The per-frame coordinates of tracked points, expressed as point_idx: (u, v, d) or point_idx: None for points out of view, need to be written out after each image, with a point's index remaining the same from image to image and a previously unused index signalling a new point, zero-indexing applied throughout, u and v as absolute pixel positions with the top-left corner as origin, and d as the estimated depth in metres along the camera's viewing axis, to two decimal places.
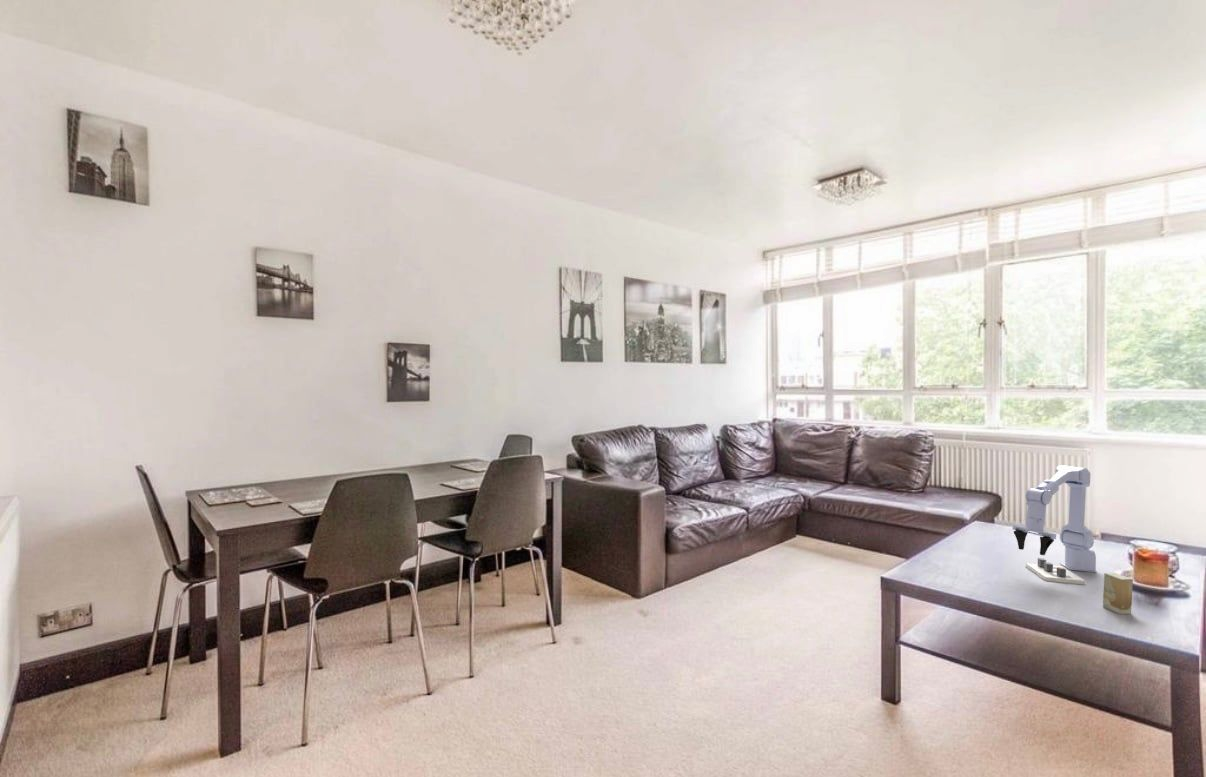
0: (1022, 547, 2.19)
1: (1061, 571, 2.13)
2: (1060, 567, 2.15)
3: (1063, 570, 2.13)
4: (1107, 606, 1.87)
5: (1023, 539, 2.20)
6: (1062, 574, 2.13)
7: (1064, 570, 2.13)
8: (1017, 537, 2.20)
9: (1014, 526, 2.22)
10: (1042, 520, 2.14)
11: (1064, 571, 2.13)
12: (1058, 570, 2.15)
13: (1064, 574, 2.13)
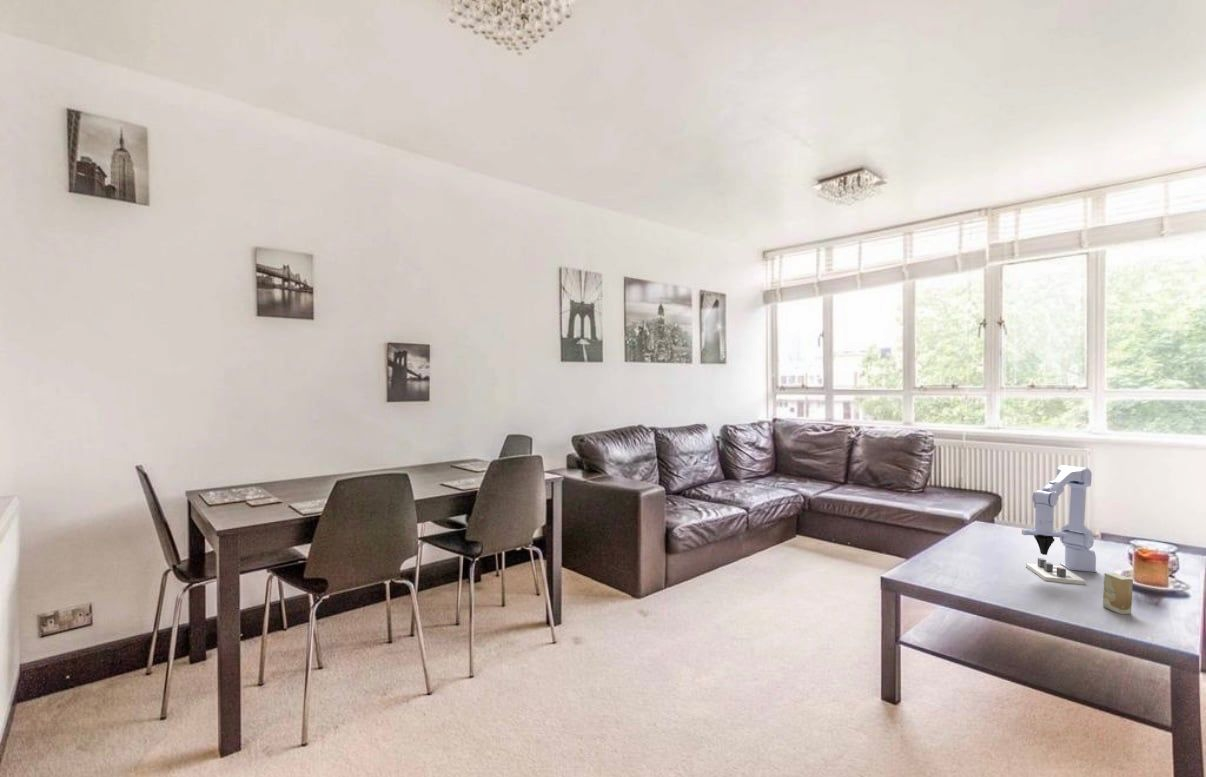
0: None
1: (1061, 571, 2.13)
2: (1060, 567, 2.15)
3: (1063, 570, 2.13)
4: (1107, 606, 1.87)
5: None
6: (1062, 574, 2.13)
7: (1064, 570, 2.13)
8: (1043, 543, 2.14)
9: (1025, 531, 2.17)
10: None
11: (1064, 571, 2.13)
12: (1058, 570, 2.15)
13: (1064, 574, 2.13)
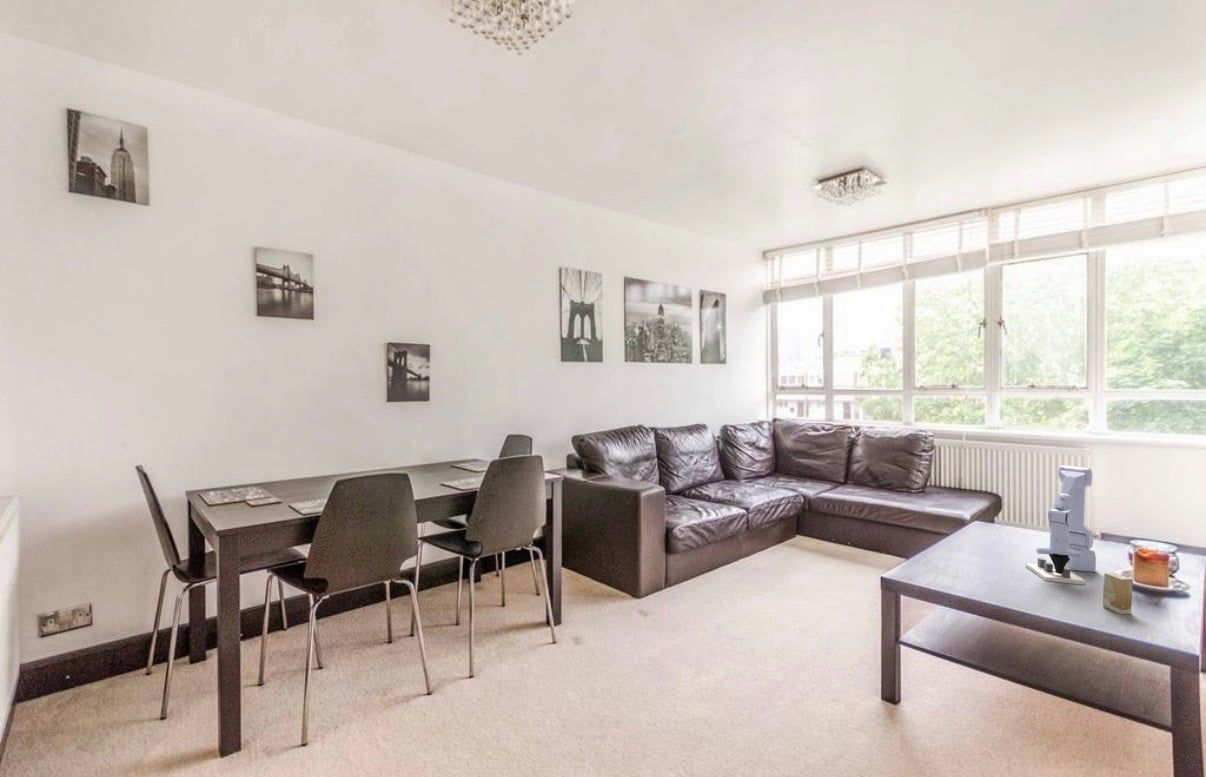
0: None
1: (1065, 571, 2.13)
2: (1064, 567, 2.14)
3: (1067, 570, 2.13)
4: (1107, 606, 1.87)
5: None
6: (1066, 575, 2.13)
7: (1068, 570, 2.13)
8: (1058, 562, 2.13)
9: (1040, 550, 2.15)
10: None
11: (1068, 571, 2.13)
12: None
13: (1068, 574, 2.13)
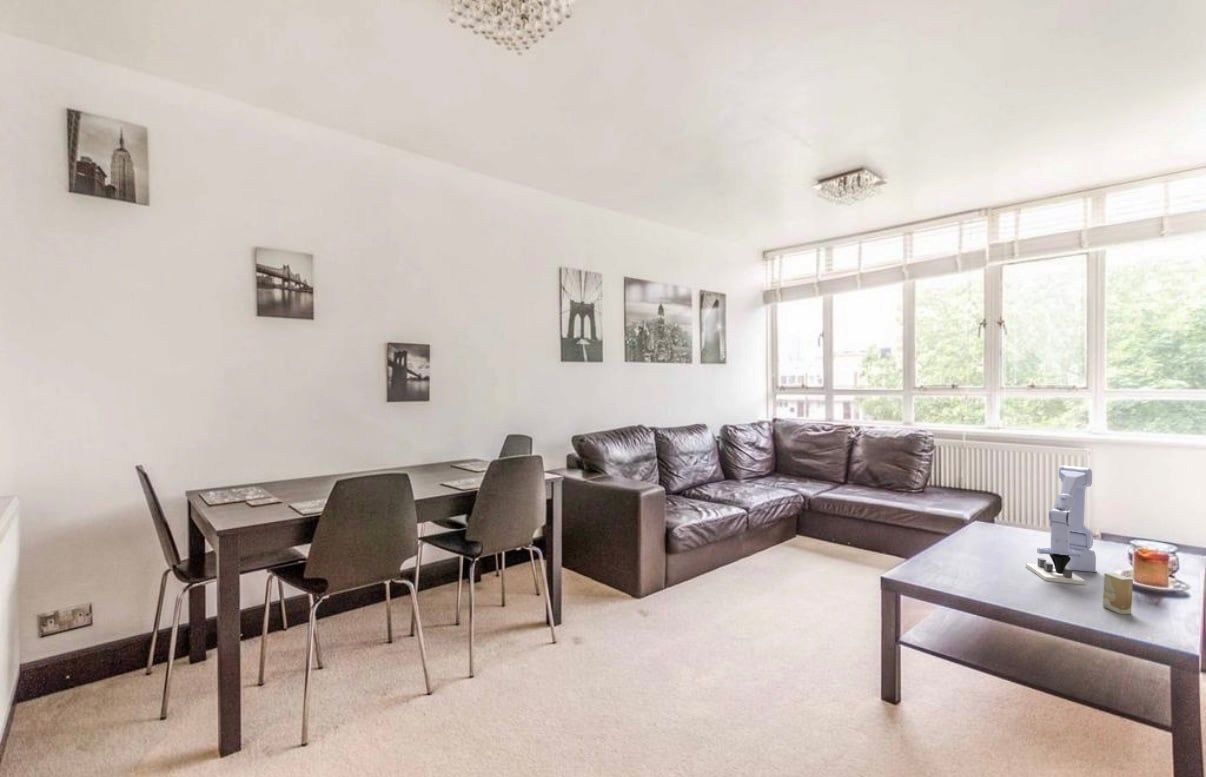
0: None
1: (1067, 572, 2.13)
2: (1066, 568, 2.14)
3: (1069, 571, 2.12)
4: (1107, 606, 1.87)
5: None
6: (1068, 575, 2.13)
7: (1070, 571, 2.12)
8: (1058, 562, 2.13)
9: (1041, 550, 2.15)
10: None
11: (1070, 572, 2.12)
12: (1064, 571, 2.14)
13: (1070, 575, 2.12)
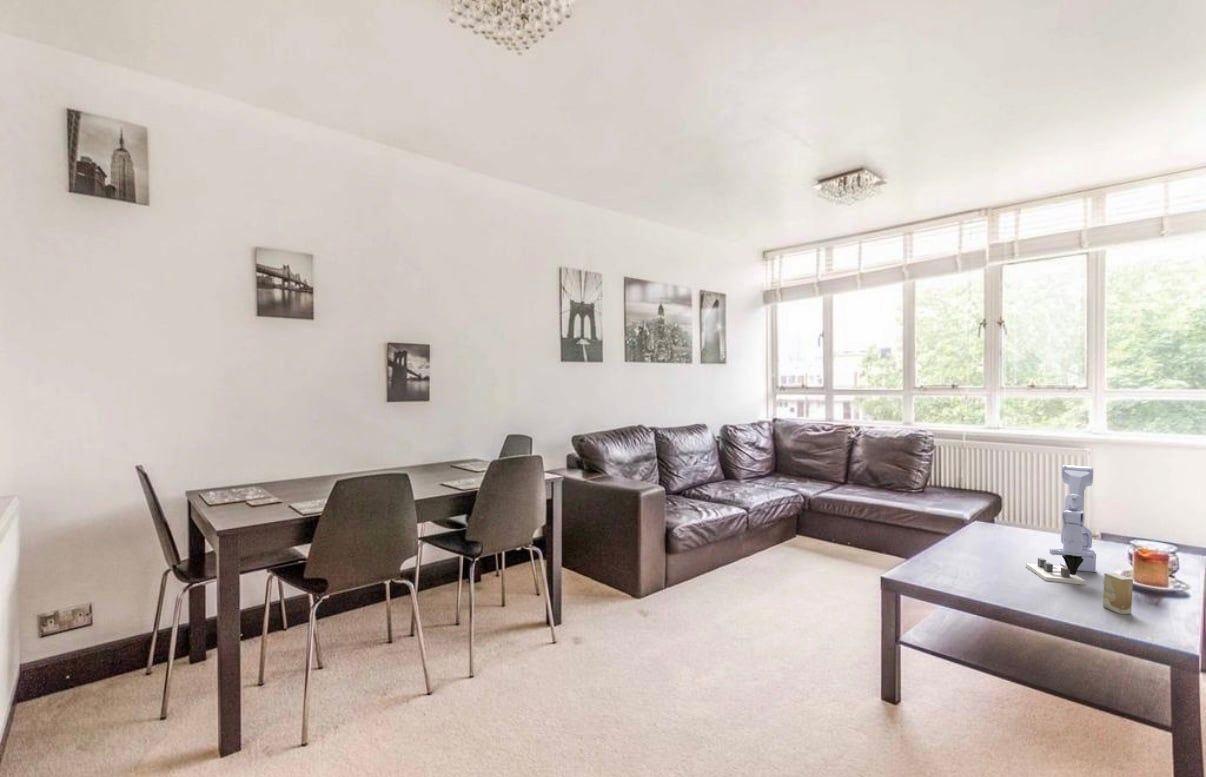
0: None
1: (1065, 571, 2.13)
2: (1064, 567, 2.14)
3: (1067, 570, 2.13)
4: (1107, 606, 1.87)
5: None
6: (1066, 575, 2.13)
7: (1068, 570, 2.13)
8: (1071, 564, 2.12)
9: (1053, 551, 2.14)
10: None
11: (1068, 571, 2.13)
12: (1062, 570, 2.14)
13: (1068, 574, 2.13)
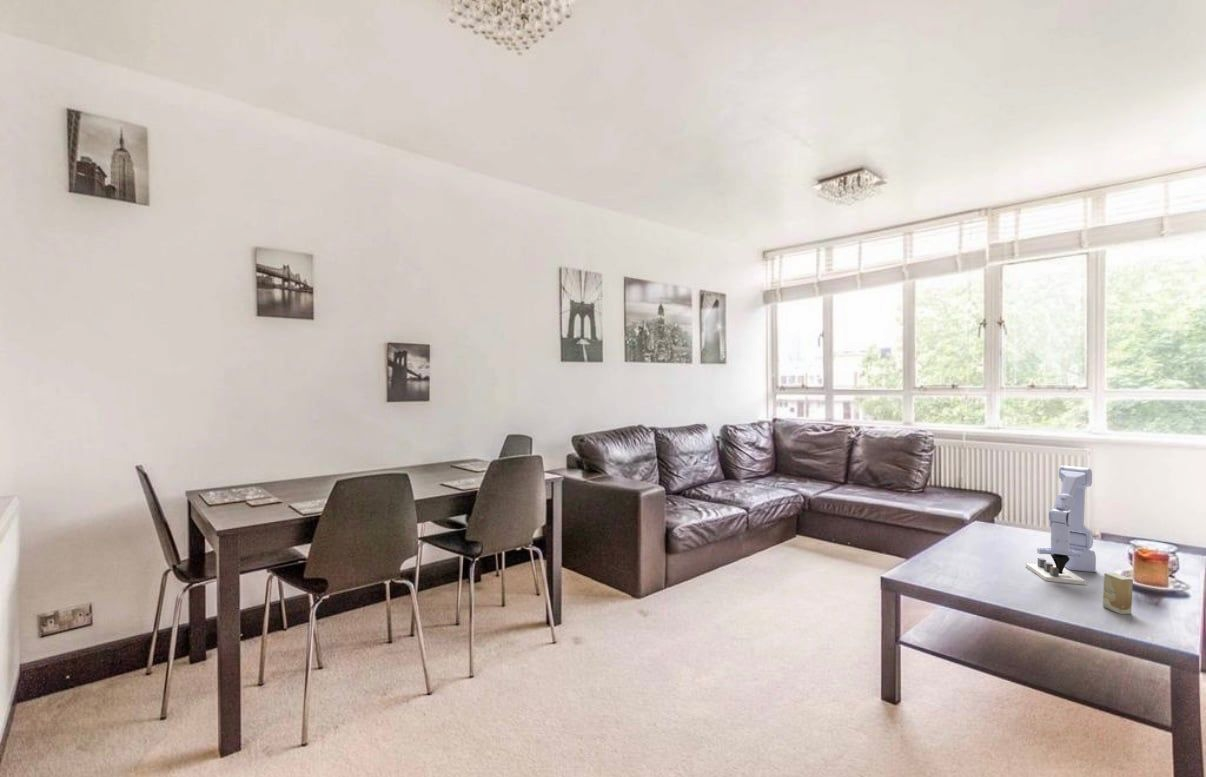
0: None
1: (1054, 570, 2.14)
2: (1053, 566, 2.15)
3: (1056, 569, 2.14)
4: (1107, 606, 1.87)
5: None
6: (1054, 573, 2.14)
7: (1057, 569, 2.14)
8: (1060, 563, 2.13)
9: (1041, 550, 2.15)
10: None
11: (1057, 570, 2.14)
12: (1051, 569, 2.15)
13: (1057, 573, 2.14)
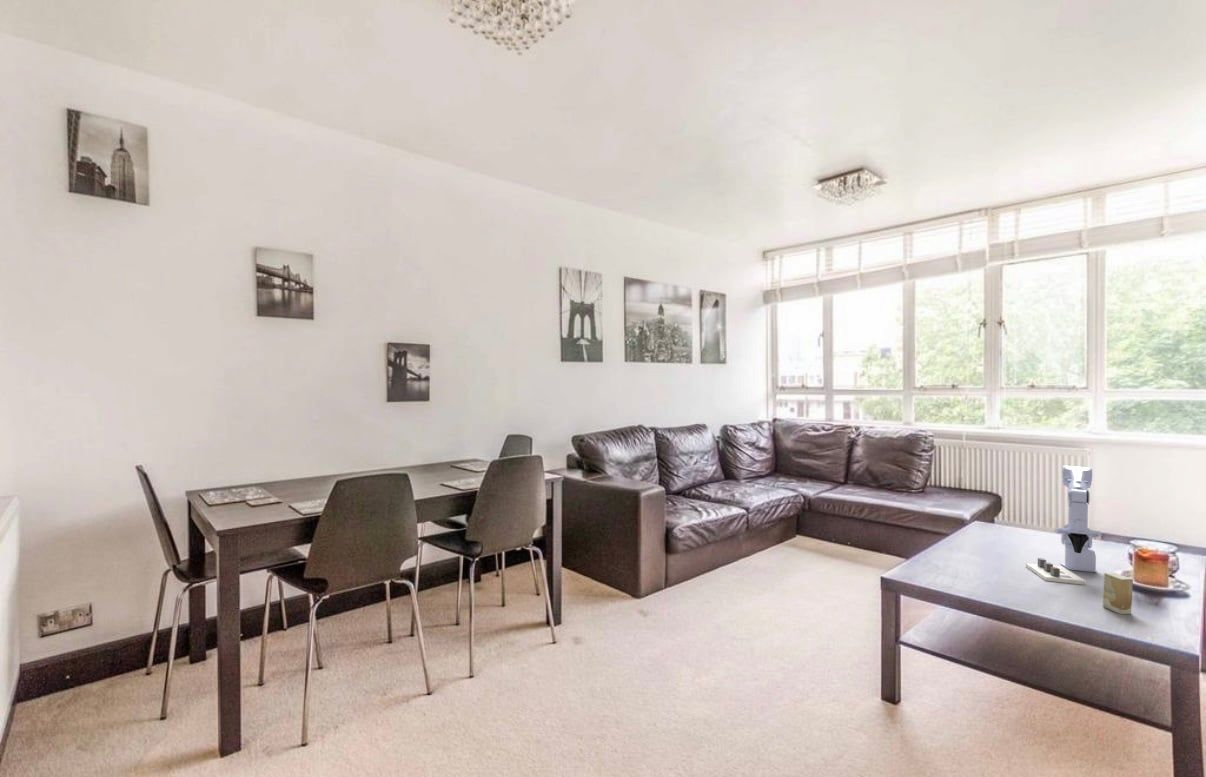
0: None
1: (1055, 570, 2.14)
2: (1054, 566, 2.15)
3: (1057, 569, 2.14)
4: (1107, 606, 1.87)
5: None
6: (1055, 574, 2.14)
7: (1058, 569, 2.14)
8: (1077, 542, 2.15)
9: (1059, 530, 2.18)
10: None
11: (1058, 570, 2.14)
12: (1052, 569, 2.15)
13: (1058, 573, 2.14)
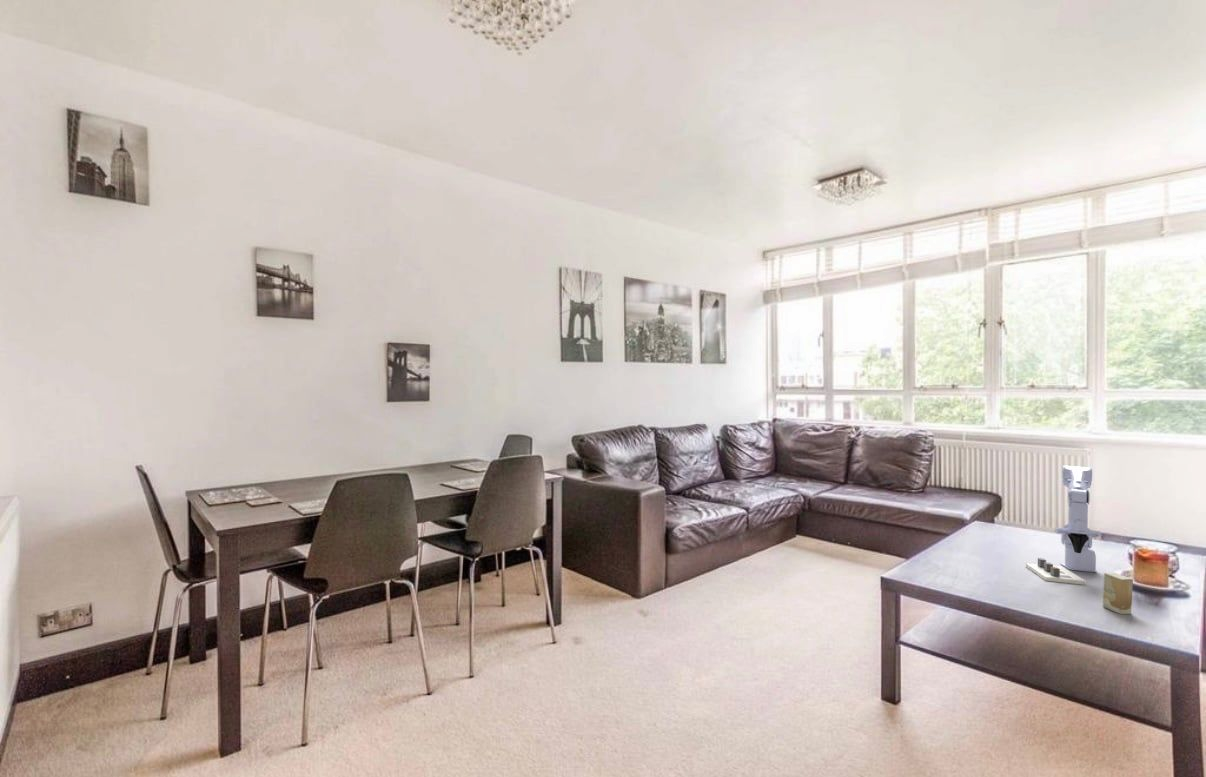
0: None
1: (1055, 570, 2.14)
2: (1054, 566, 2.15)
3: (1057, 569, 2.14)
4: (1107, 606, 1.87)
5: None
6: (1055, 574, 2.14)
7: (1058, 569, 2.14)
8: (1077, 542, 2.15)
9: (1059, 530, 2.18)
10: None
11: (1058, 570, 2.14)
12: (1052, 569, 2.15)
13: (1058, 573, 2.14)
